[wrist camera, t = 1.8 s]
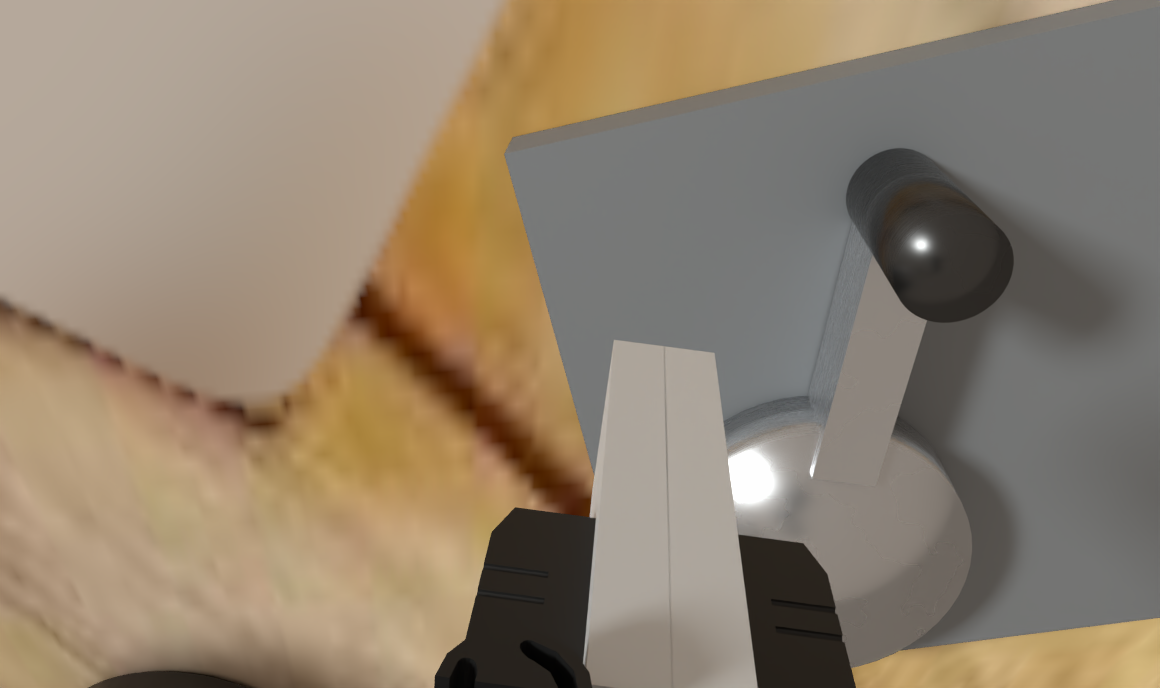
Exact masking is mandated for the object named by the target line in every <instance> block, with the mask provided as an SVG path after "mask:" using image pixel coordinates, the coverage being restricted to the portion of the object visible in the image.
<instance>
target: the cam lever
mask: <svg viewBox="0 0 1160 688" xmlns="http://www.w3.org/2000/svg"><path fill="white" fill-rule="evenodd" d="M846 206H847V210H848V213H849V216H850V218H851V220H852V221H853V222H852V226H851V230H850V233H849V237H848V241H847V245H846V249H845V253H844V257H843V261H842V265H841V268H840V272H839V276H838V280H837V284H836V288H835V292H834V296H833V300H832V303H831V307H830V311H829V315H828V319H827V323H826V327H825V331H824V335H823V338H822V342H821V346H820V350H819V354H818V358H817V362H816V366H815V370H814V374H813V377H812V381H811V385H810V389H809V393H808V396H796V397H789V398H783V399H777V400H774V401H770V402H766V403H763V404H759V405H757V406H754V407H752V408H749V409H746V410H744V411H741V412H740V413H738V414H736V415H734V416H732V417H730V418H728V419H726V420H725V421H723V422H724V430H725V438H726V446H727V454H728V461H729V469H730V477H731V485H732V492H733V500H734V508H735V516H736V524H737V531H738V535H746V536H753V537H761V538H768V539H776V540H783V541H791V542H798V543H804V545H805V546H806V547H807V548H808V550H809V551H810V552H811V554H812V555H813V556H814V557H815V559H816V560H817V561H818V563H819V564H820V565H821V566H822V568H823V569H824V570H825V571H826V573H827V574H828V578H829V582H830V586H831V590H832V594H833V598H834V602H835V606H836V609H835V614H838V618H839V622H840V626H841V630H842V634H843V636H842V642H845V646H846V650H847V654H848V658H849V662H850V666H851V668H852V667H857V666H861V665H864V664H868V663H871V662H874V661H877V660H880V659H882V658H884V657H887V656H889V655H891V654H894V653H896V652H898V651H899V650H901V649H903V648H905V647H907V646H908V645H910V644H912V643H913V642H915V641H916V640H917V639H919V638H920V637H922V636H923V635H925V634H926V633H927V632H928V631H929V630H930V629H931V628H932V627H934V626H935V625H936V624H937V623H938V622H939V621H940V620H941V619H942V617H943V616H944V615H945V614H946V613H947V612H948V611H949V609H950V608H951V606H952V605H953V603H954V602H955V600H956V599H957V597H958V596H959V594H960V592H961V590H962V588H963V585H964V583H965V581H966V578H967V575H968V571H969V568H970V563H971V555H972V534H971V529H970V525H969V520H968V517H967V515H966V512H965V510H964V507H963V505H962V503H961V501H960V499H959V497H958V495H957V493H956V491H955V489H954V487H953V485H952V483H951V481H950V479H949V477H948V475H947V473H946V471H945V469H944V467H943V465H942V463H941V461H940V459H939V458H938V456H937V454H936V453H935V451H934V450H933V448H932V447H931V446H930V444H929V443H928V442H927V441H926V440H925V439H924V437H923V436H922V435H921V434H920V433H919V432H917V431H916V430H915V429H914V428H913V427H911V426H910V425H909V424H908V423H906V422H905V421H903V420H902V419H900V418H899V417H897V416H898V412H899V409H900V406H901V403H902V400H903V396H904V393H905V390H906V387H907V383H908V380H909V377H910V374H911V371H912V367H913V364H914V361H915V358H916V355H917V351H918V348H919V345H920V342H921V338H922V335H923V332H924V329H925V326H926V322H927V320H928V321H932V322H938V323H952V322H958V321H962V320H966V319H969V318H971V317H974V316H976V315H978V314H980V313H981V312H983V311H984V310H986V309H987V308H989V307H990V306H991V305H992V304H993V303H995V302H996V300H997V299H998V298H999V297H1000V296H1001V295H1002V293H1003V292H1004V291H1005V289H1006V287H1007V285H1008V283H1009V281H1010V279H1011V276H1012V272H1013V266H1014V255H1013V249H1012V247H1011V244H1010V241H1009V240H1008V238H1007V236H1006V235H1005V233H1004V232H1003V231H1002V230H1001V229H1000V228H999V227H998V226H997V225H996V224H995V223H994V222H993V221H992V220H991V219H990V218H989V217H988V216H987V215H986V214H985V213H984V212H983V211H982V210H981V209H980V208H979V207H978V206H977V205H976V204H975V203H974V202H973V201H972V200H971V199H970V198H969V197H968V196H967V195H966V194H965V193H964V192H963V191H962V190H961V189H960V188H959V187H958V186H957V185H956V184H955V183H954V182H953V181H952V180H951V179H950V178H949V177H948V176H947V175H946V174H945V173H943V172H942V171H941V170H940V169H939V168H938V167H937V166H936V165H935V164H934V163H933V162H932V161H931V160H930V159H929V158H928V157H927V156H925V155H924V154H922V153H920V152H918V151H915V150H911V149H905V148H896V149H889V150H885V151H882V152H880V153H877V154H875V155H873V156H872V157H870V158H869V159H867V160H866V161H865V162H864V163H863V164H861V165H860V166H859V168H858V169H857V170H856V171H855V173H854V174H853V176H852V178H851V180H850V182H849V185H848V188H847V193H846Z"/></svg>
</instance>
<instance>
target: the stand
mask: <svg viewBox="0 0 1160 688" xmlns="http://www.w3.org/2000/svg"><path fill="white" fill-rule="evenodd" d="M896 148H905V149H911V150H915V151H918V152H920V153H922V154H924V155H925V156H927V157H928V158H929V159H930V160H931V161H932V162H933V163H934V164H935V165H936V166H937V167H938V168H939V169H940V170H941V171H942V172H943V173H945V174H946V175H947V176H948V177H949V178H950V179H951V180H952V181H953V182H954V183H955V184H956V185H957V186H958V187H959V188H960V189H961V190H962V191H963V192H964V193H965V194H966V195H967V196H968V197H969V198H970V199H971V200H972V201H973V202H974V203H975V204H976V205H977V206H978V207H979V208H980V209H981V210H982V211H983V212H984V213H985V214H986V215H987V216H988V217H989V218H990V219H991V220H992V221H993V222H994V223H995V224H996V225H997V226H998V227H999V228H1000V229H1001V230H1002V231H1003V232H1004V233H1005V235H1006V236H1007V238H1008V240H1009V241H1010V244H1011V247H1012V249H1013V255H1014V266H1013V272H1012V276H1011V279H1010V281H1009V283H1008V285H1007V287H1006V289H1005V291H1004V292H1003V293H1002V295H1001V296H1000V297H999V298H998V299H997V300H996V302H995V303H993V304H992V305H991V306H990V307H989V308H987V309H986V310H984V311H983V312H981V313H980V314H978V315H976V316H974V317H971V318H969V319H966V320H962V321H958V322H952V323H938V322H932V321H928V320H927V322H926V326H925V329H924V332H923V335H922V338H921V342H920V345H919V348H918V351H917V355H916V358H915V361H914V364H913V367H912V371H911V374H910V377H909V380H908V383H907V387H906V390H905V393H904V396H903V400H902V403H901V406H900V409H899V412H898V416H897V417H899V418H900V419H902V420H903V421H905V422H906V423H908V424H909V425H910V426H911V427H913V428H914V429H915V430H916V431H917V432H919V433H920V434H921V435H922V436H923V437H924V439H925V440H926V441H927V442H928V443H929V444H930V446H931V447H932V448H933V450H934V451H935V453H936V454H937V456H938V458H939V459H940V461H941V463H942V465H943V467H944V469H945V471H946V473H947V475H948V477H949V479H950V481H951V483H952V485H953V487H954V489H955V491H956V493H957V495H958V497H959V499H960V501H961V503H962V505H963V507H964V510H965V512H966V515H967V517H968V520H969V525H970V529H971V534H972V555H971V563H970V568H969V571H968V575H967V578H966V581H965V583H964V585H963V588H962V590H961V592H960V594H959V596H958V597H957V599H956V600H955V602H954V603H953V605H952V606H951V608H950V609H949V611H948V612H947V613H946V614H945V615H944V616H943V617H942V619H941V620H940V621H939V622H938V623H937V624H936V625H935V626H934V627H932V628H931V629H930V630H929V631H928V632H927V633H926V634H925V635H923V636H922V637H920V638H919V639H917V640H916V641H915V642H913V643H912V644H910V645H908V646H907V647H905V648H903V649H901V650H908V649H915V648H923V647H931V646H939V645H947V644H955V643H963V642H971V641H979V640H987V639H995V638H1003V637H1010V636H1018V635H1026V634H1034V633H1042V632H1050V631H1058V630H1066V629H1074V628H1082V627H1090V626H1098V625H1106V624H1113V623H1121V622H1129V621H1137V620H1145V619H1153V618H1160V0H1113V1H1109V2H1105V3H1100V4H1096V5H1091V6H1087V7H1083V8H1078V9H1074V10H1069V11H1065V12H1061V13H1056V14H1052V15H1048V16H1043V17H1039V18H1034V19H1030V20H1026V21H1021V22H1017V23H1012V24H1008V25H1004V26H999V27H995V28H991V29H986V30H982V31H977V32H973V33H969V34H964V35H960V36H956V37H951V38H947V39H942V40H938V41H934V42H929V43H925V44H920V45H916V46H912V47H907V48H903V49H899V50H894V51H890V52H885V53H881V54H877V55H872V56H868V57H863V58H859V59H855V60H850V61H846V62H842V63H837V64H833V65H828V66H824V67H820V68H815V69H811V70H806V71H802V72H798V73H793V74H789V75H785V76H780V77H776V78H771V79H767V80H763V81H758V82H754V83H749V84H745V85H741V86H736V87H732V88H728V89H723V90H719V91H714V92H710V93H706V94H701V95H697V96H693V97H688V98H684V99H679V100H675V101H671V102H666V103H662V104H657V105H653V106H649V107H644V108H640V109H636V110H631V111H627V112H622V113H618V114H614V115H609V116H605V117H600V118H596V119H592V120H587V121H583V122H579V123H574V124H570V125H565V126H561V127H557V128H552V129H548V130H543V131H539V132H535V133H530V134H526V135H522V136H517V137H513V138H512V140H511V142H510V144H509V146H508V148H507V150H506V152H505V154H504V155H505V158H506V162H507V165H508V169H509V173H510V176H511V180H512V183H513V187H514V190H515V194H516V198H517V201H518V205H519V208H520V212H521V215H522V219H523V222H524V226H525V230H526V233H527V237H528V240H529V244H530V247H531V251H532V255H533V258H534V262H535V265H536V269H537V272H538V276H539V280H540V283H541V287H542V290H543V294H544V297H545V301H546V305H547V308H548V312H549V315H550V319H551V322H552V326H553V330H554V333H555V337H556V340H557V344H558V347H559V351H560V355H561V358H562V362H563V365H564V369H565V372H566V376H567V380H568V383H569V387H570V390H571V394H572V397H573V401H574V405H575V408H576V412H577V415H578V419H579V422H580V426H581V430H582V433H583V437H584V440H585V444H586V447H587V451H588V455H589V458H590V462H591V465H592V469H593V472H594V476H595V469H596V462H597V455H598V448H599V441H600V434H601V427H602V420H603V413H604V406H605V399H606V392H607V385H608V378H609V371H610V364H611V357H612V350H613V343H614V340H620V341H628V342H635V343H643V344H651V345H658V346H666V347H673V348H681V349H689V350H696V351H704V352H712V353H715V360H716V368H717V376H718V384H719V391H720V399H721V407H722V415H723V421H725V420H726V419H728V418H730V417H732V416H734V415H736V414H738V413H740V412H741V411H744V410H746V409H749V408H752V407H754V406H757V405H759V404H763V403H766V402H770V401H774V400H777V399H783V398H789V397H796V396H808V393H809V389H810V385H811V381H812V377H813V374H814V370H815V366H816V362H817V358H818V354H819V350H820V346H821V342H822V338H823V335H824V331H825V327H826V323H827V319H828V315H829V311H830V307H831V303H832V300H833V296H834V292H835V288H836V284H837V280H838V276H839V272H840V268H841V265H842V261H843V257H844V253H845V249H846V245H847V241H848V237H849V233H850V230H851V226H852V222H853V221H852V220H851V218H850V216H849V213H848V210H847V206H846V193H847V188H848V185H849V182H850V180H851V178H852V176H853V174H854V173H855V171H856V170H857V169H858V168H859V166H860V165H861V164H863V163H864V162H865V161H866V160H867V159H869V158H870V157H872V156H873V155H875V154H877V153H880V152H882V151H885V150H889V149H896ZM899 651H900V650H899Z"/></svg>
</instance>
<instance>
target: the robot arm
mask: <svg viewBox="0 0 1160 688" xmlns="http://www.w3.org/2000/svg"><path fill="white" fill-rule="evenodd" d="M835 609H836V606H835V602H834V598H833V594H832V590H831V586H830V582H829V578H828V574H827V573H826V571H825V570H824V569H823V568H822V566H821V565H820V564H819V563H818V561H817V560H816V559H815V557H814V556H813V555H812V554H811V552H810V551H809V550H808V548H807V547H806V546H805V545H804V543H798V542H791V541H783V540H776V539H768V538H761V537H753V536H746V535H738V531H737V524H736V516H735V508H734V500H733V492H732V485H731V477H730V469H729V461H728V454H727V446H726V438H725V430H724V422H723V415H722V407H721V399H720V391H719V384H718V376H717V368H716V360H715V353H712V352H704V351H696V350H689V349H681V348H673V347H666V346H658V345H651V344H643V343H635V342H628V341H620V340H614V343H613V350H612V357H611V364H610V371H609V378H608V385H607V392H606V399H605V406H604V413H603V420H602V427H601V434H600V441H599V448H598V455H597V462H596V469H595V476H594V483H593V490H592V500H591V510H590V517H583V516H575V515H568V514H560V513H553V512H545V511H538V510H530V509H523V508H514V509H513V510H512V511H511V512H510V513H509V515H508V516H507V517H506V518H505V519H504V520H503V521H502V522H501V523H500V524H499V525H498V526H497V527H496V528H495V529H494V530H493V531H492V533H491V537H490V541H489V545H488V550H487V554H486V558H485V562H484V568H483V570H482V574H481V578H480V582H479V586H478V592H477V596H476V598H475V603H474V607H473V611H472V615H471V619H470V623H469V627H468V631H467V635H466V639H465V640H464V641H463V642H462V643H460V644H459V645H458V646H456V647H455V648H454V649H453V650H451V651H450V652H449V653H447V655H446V657H445V658H444V660H443V662H442V664H441V666H440V668H439V669H438V671H437V673H436V675H435V686H434V688H856V686H855V682H854V678H853V674H852V670H851V666H850V662H849V658H848V654H847V650H846V646H845V642H842V636H843V634H842V630H841V626H840V622H839V618H838V614H835ZM89 688H247V687H244V686H241V685H238V684H235V683H232V682H229V681H225V680H222V679H218V678H213V677H209V676H204V675H198V674H191V673H183V672H161V671H157V672H142V673H133V674H127V675H122V676H118V677H114V678H111V679H108V680H105V681H102V682H100V683H97V684H95V685H93V686H91V687H89Z"/></svg>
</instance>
